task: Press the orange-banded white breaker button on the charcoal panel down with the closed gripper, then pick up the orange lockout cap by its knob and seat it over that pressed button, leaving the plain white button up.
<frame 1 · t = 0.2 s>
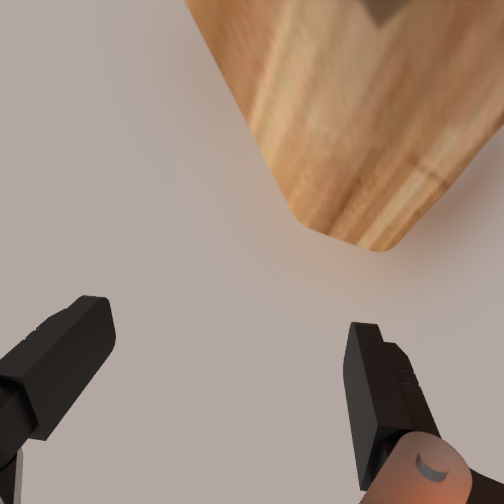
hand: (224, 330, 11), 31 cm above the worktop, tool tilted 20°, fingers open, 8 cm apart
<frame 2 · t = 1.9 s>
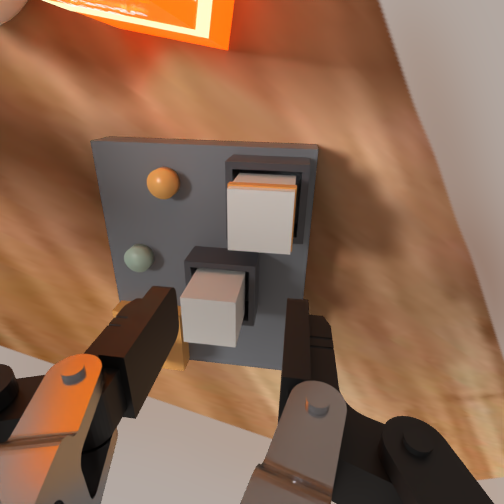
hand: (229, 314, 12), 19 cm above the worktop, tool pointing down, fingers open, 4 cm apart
breaker panel: (213, 256, 33), on the worktop
lockout cap: (156, 330, 34), point 3 cm above the worktop, touching breaker panel
breaker tagged: (263, 211, 22), point 8 cm above the worktop, slide at 0.0 cm
breaker plain: (215, 305, 26), point 8 cm above the worktop, slide at 0.0 cm
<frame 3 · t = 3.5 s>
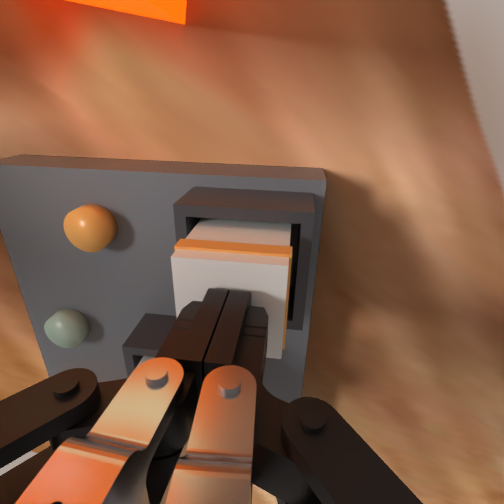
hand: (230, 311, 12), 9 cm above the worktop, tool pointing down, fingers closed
breaker panel: (178, 316, 24), on the worktop
breaker tagged: (239, 279, 14), point 7 cm above the worktop, slide at 0.9 cm, touching gripper
breaker plain: (169, 416, 17), point 8 cm above the worktop, slide at 0.0 cm
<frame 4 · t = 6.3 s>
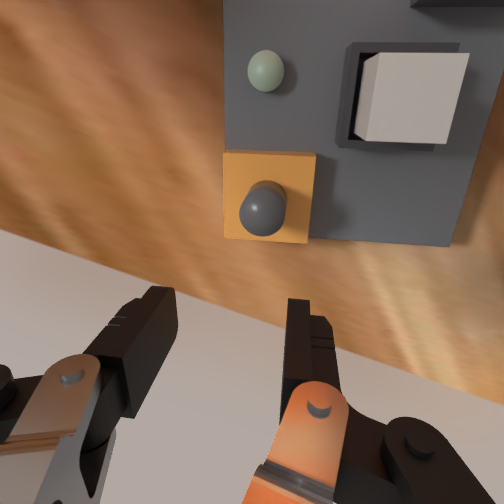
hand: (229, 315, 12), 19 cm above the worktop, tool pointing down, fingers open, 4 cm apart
breaker panel: (348, 91, 25), on the worktop
lockout cap: (268, 193, 26), point 3 cm above the worktop, touching breaker panel
breaker plain: (401, 99, 18), point 8 cm above the worktop, slide at 0.0 cm
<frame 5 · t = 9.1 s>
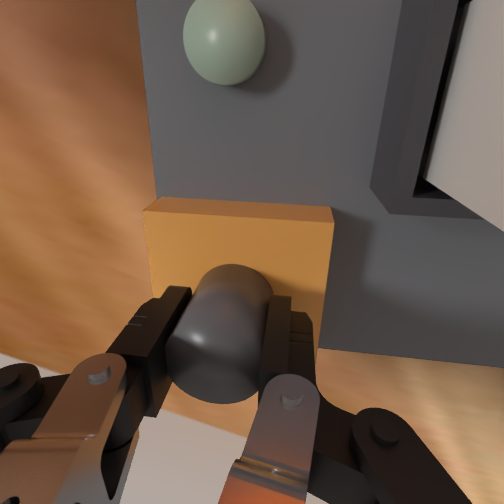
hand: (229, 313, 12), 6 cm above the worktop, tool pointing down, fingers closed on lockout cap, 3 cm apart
breaker panel: (393, 85, 13), on the worktop
lockout cap: (242, 275, 14), point 3 cm above the worktop, touching breaker panel, gripper
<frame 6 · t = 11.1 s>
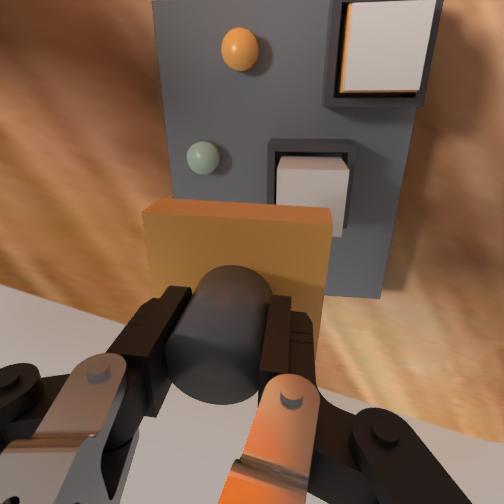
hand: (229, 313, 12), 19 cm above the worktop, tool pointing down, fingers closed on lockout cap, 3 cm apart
breaker panel: (283, 163, 28), on the worktop
lockout cap: (242, 276, 14), point 17 cm above the worktop, touching gripper
breaker tagged: (378, 52, 19), point 5 cm above the worktop, slide at 2.1 cm
breaker plain: (309, 193, 21), point 8 cm above the worktop, slide at 0.0 cm
when the fingers open (11 cm above the worktop, at t = 13.3 s): lockout cap drops 1 cm, resting on breaker tagged.
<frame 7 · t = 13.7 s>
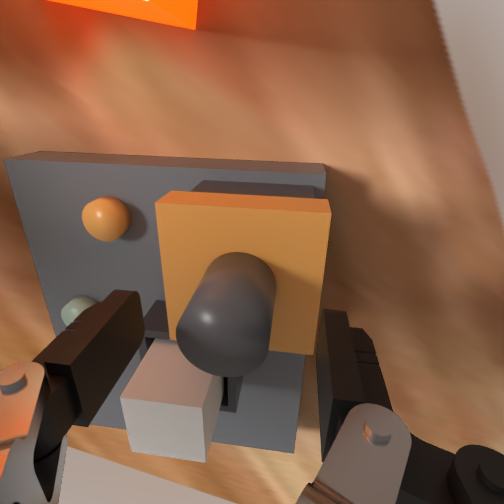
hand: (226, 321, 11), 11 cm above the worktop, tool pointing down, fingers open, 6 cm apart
breaker panel: (186, 305, 25), on the worktop
lockout cap: (246, 264, 15), point 7 cm above the worktop, touching breaker tagged
breaker plain: (179, 394, 18), point 8 cm above the worktop, slide at 0.0 cm
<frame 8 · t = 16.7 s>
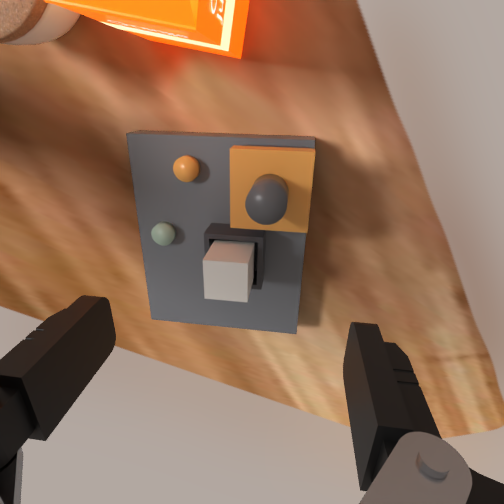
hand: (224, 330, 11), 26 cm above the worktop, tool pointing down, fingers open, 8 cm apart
breaker panel: (225, 233, 38), on the worktop
lockout cap: (271, 186, 28), point 7 cm above the worktop, touching breaker tagged
orange juice: (200, 0, 29), on the worktop
breaker plain: (230, 269, 31), point 8 cm above the worktop, slide at 0.0 cm
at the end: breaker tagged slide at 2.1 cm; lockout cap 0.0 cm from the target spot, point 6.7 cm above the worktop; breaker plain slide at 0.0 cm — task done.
